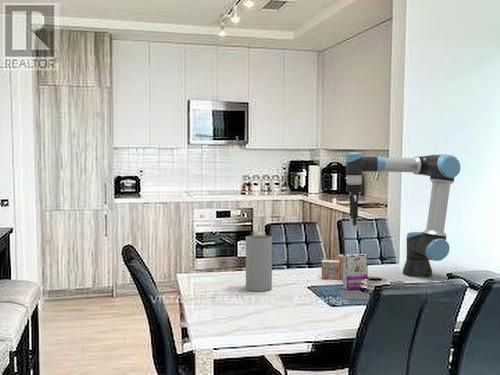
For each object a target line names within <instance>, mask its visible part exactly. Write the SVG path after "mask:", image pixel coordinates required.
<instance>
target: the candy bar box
mask: <svg viewBox="0 0 500 375" xmlns="http://www.w3.org/2000/svg"><path fill="white" fill-rule="evenodd" d="M341 255H342V261H343V280H342V290H360V289H359V288H360V283H361V281H362V280H365V279H368V280H369V278H368V276H369V274H368V273H369V272H368V254H365V253H354V254H353V253H351V254H348V253H347V254H341Z"/></svg>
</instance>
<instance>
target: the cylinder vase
mask: <svg viewBox="0 0 500 375" xmlns="http://www.w3.org/2000/svg"><path fill="white" fill-rule="evenodd" d="M272 240H273V236H271V235H262V234H258V235H257V234H256V235H255V234H254V235H247V236H245V290H247V291H250V292H259V293H260V292H261V293H262V292H267V291H270V290H272V287H273V285H272V284H273V277H272V276H273V256H272V255H273V250H272V249H273V248H272V246H273V241H272Z"/></svg>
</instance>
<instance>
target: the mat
mask: <svg viewBox="0 0 500 375" xmlns="http://www.w3.org/2000/svg"><path fill="white" fill-rule="evenodd" d="M360 290H361V289H357V290H346V289H338V292H339V295H340V299H341V300H343V301H345V300H346V301H370V300H369V297H370V294H369V293H364V292H362V291H360Z"/></svg>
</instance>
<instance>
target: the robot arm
mask: <svg viewBox="0 0 500 375" xmlns="http://www.w3.org/2000/svg"><path fill="white" fill-rule="evenodd" d="M345 168H346V169H345V171H346V172H345V173H346V174H345V175H346V177H344V179H345V180H346V182H345V183H346V185H345V192H347V193H350V195H349V197H348V198H349V216H350V217H349V230H351V232H352V233H357V232H358V218H359V205H358V204H359V196H358V194H357V193H361V192H362V190H363V188H362V186H363V185H362V183H363V173H365V172H367V173H369V172H370V173H376V172H377V173H378V172H381V173H383V172H384V173H412V174H413V175H419V176H421V175H422V176H427V177H429V180H430V182H431V190H430V191H431V192H430V199H429V205H428V206H429V207H428V214H427V215H428V216H427V220H426V221H427V222H426V227H425V228H426V229H425V230H423V231H409V232H407V234H406V239H405V240H406V260H405V262H404V265H403V268H402V274H403V275H405V276H408V277H412V278H413V277H415V278H428V277H431V276H433V268H432V266H431V265H432V264H431V262H430V261H435V262H440V261H442V260H444V259H445V258H446V257H447V256H448V255H449V252H450V243H449V242H448V241H447V234H446V233H445V227H446V226H445V225H446V219H447V214H448V213H447V211H448V204H449V196H450V188H451V185H452V184H454V182H455V178H456V177H457V176H458V175H459V174H460V172H461V163H460V161H459V159H458V158H457V157H456V156H454V155H452V154H445V153H444V154H429V155H423V156H422V155H421V156H418V155H417V156H414V157H411V158H410V157H384V156H378V155H376V156H363V153H362V152H347V153H346V158H345Z"/></svg>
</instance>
